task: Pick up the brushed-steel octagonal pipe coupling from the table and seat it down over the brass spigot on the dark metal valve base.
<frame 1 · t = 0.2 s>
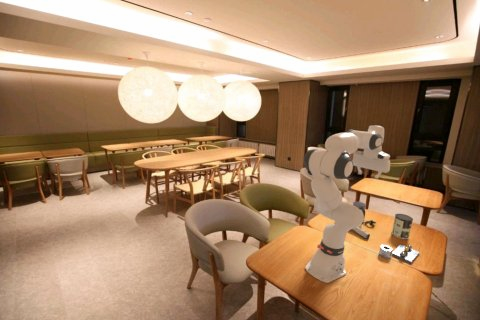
hand: (368, 176, 138), 47 cm above the table, fingers open, 8 cm apart
coffee can: (399, 235, 164), on the table
valve base: (405, 254, 142), on the table
grey brown bar: (351, 230, 169), on the table
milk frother: (362, 222, 180), on the table
coupling: (384, 255, 141), on the table
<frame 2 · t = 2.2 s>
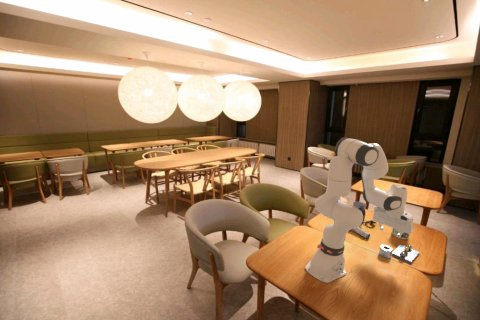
hand: (389, 233, 138), 15 cm above the table, fingers open, 8 cm apart
nothing on the table moved.
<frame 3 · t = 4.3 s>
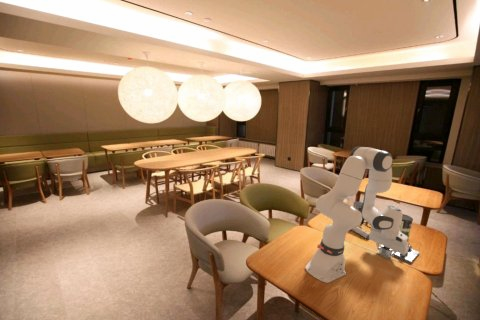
hand: (385, 252, 141), 2 cm above the table, fingers closed on coupling, 6 cm apart
coupling: (384, 255, 141), on the table, touching gripper
everything else where it was.
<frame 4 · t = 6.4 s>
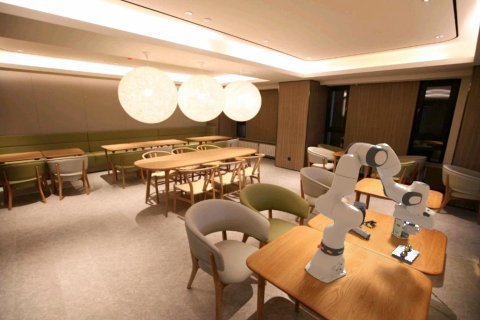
hand: (410, 229, 138), 17 cm above the table, fingers closed on coupling, 6 cm apart
coupling: (410, 232, 139), point 15 cm above the table, touching gripper
everything else where it was.
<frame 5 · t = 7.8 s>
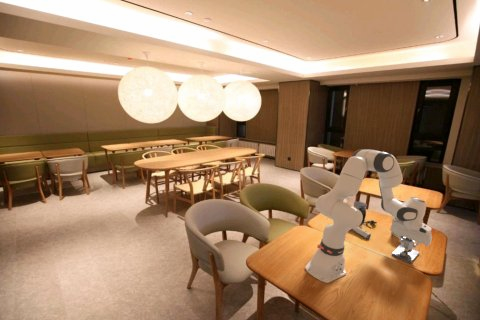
hand: (407, 244, 141), 7 cm above the table, fingers closed on coupling, 6 cm apart
coupling: (407, 246, 141), point 5 cm above the table, touching gripper
everything else where it was.
when the fingers open (5 cm above the table, at t = 8.7 s): coupling drops 1 cm, resting on valve base.
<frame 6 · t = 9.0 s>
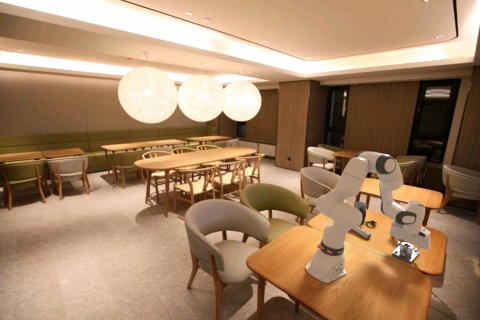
hand: (406, 248, 141), 5 cm above the table, fingers open, 8 cm apart
coupling: (405, 252, 142), point 1 cm above the table, touching valve base
everything else where it was.
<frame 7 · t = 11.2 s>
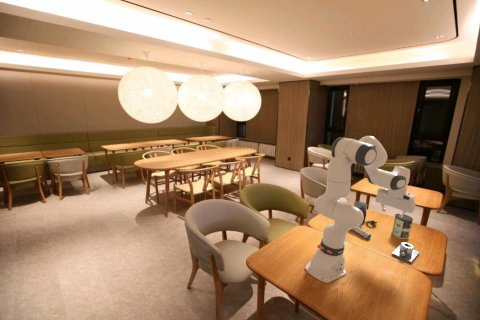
hand: (392, 213, 141), 24 cm above the table, fingers open, 8 cm apart
nothing on the table moved.
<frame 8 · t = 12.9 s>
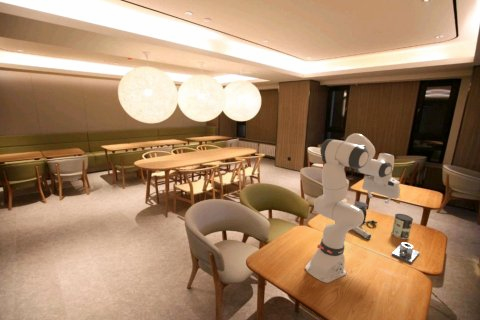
hand: (378, 200, 144), 31 cm above the table, fingers open, 8 cm apart
at the end: coupling 0.1 cm off-centre on the valve base, point 1.5 cm above the valve base's base; coupling tilted 0°; the gripper is holding nothing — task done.
